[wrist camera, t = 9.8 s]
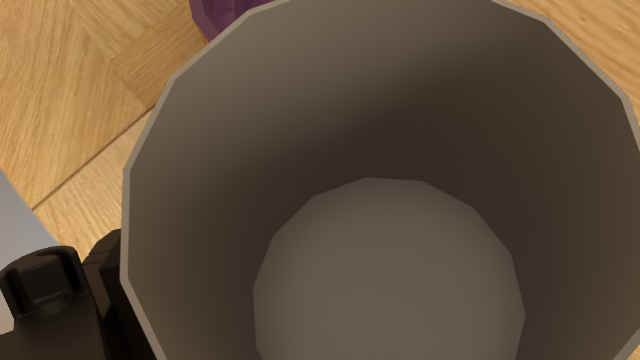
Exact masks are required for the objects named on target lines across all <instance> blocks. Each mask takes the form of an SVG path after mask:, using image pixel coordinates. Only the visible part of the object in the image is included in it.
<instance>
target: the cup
mask: <svg viewBox="0 0 640 360" xmlns="http://www.w3.org/2000/svg"><path fill="white" fill-rule="evenodd" d="M120 282H121V284H122V286H123V288H124V291H125V293H126V295H127V297H128V299H129V301H130V303H131V305H132V307H133V310H134V312H135V314H136V316H137V318H138V320H139V322H140V324H141V326H142V329H143V331H144V333H145V335H146V337H147V339H148V341H149V343H150V345H151V348H152V350H153V352H154V354H155V356H156V358H157V360H627V359H628V357H629V356H630V355H631V354H632V353H633V351H634V350H635V349H636V348H637V346H638V345H639V344H640V127H639V124H638V121H637V119H636V116H635V113H634V110H633V108H632V105H631V102H630V99H629V96H628V95H627V94H626V93H625V92H624V91H623V90H622V89H621V88H620V87H619V86H618V85H617V84H616V83H615V82H614V81H613V80H612V79H611V78H610V77H609V76H608V75H606V74H605V73H604V72H603V71H602V70H601V69H600V68H599V67H598V66H597V65H596V64H595V63H594V62H593V61H592V60H591V59H590V58H589V57H588V56H587V55H586V54H585V53H584V52H583V51H582V50H581V49H580V48H579V47H578V46H577V45H576V44H575V43H574V42H573V41H572V40H571V39H570V38H569V37H568V36H567V35H566V34H565V33H564V32H563V31H562V30H561V29H560V28H559V27H558V26H557V25H555V24H554V23H553V22H552V21H551V20H550V19H549V18H548V17H546V16H543V15H541V14H538V13H536V12H533V11H531V10H528V9H526V8H523V7H521V6H518V5H516V4H513V3H511V2H508V1H506V0H275V1H272V2H269V3H267V4H264V5H261V6H258V7H255V8H252V9H250V10H247V11H246V12H245V13H244V14H243V15H242V16H240V17H239V18H238V19H237V20H236V21H234V22H233V23H232V24H231V25H230V26H229V27H227V28H226V29H225V30H224V31H223V32H222V33H220V34H219V35H218V36H217V37H216V38H215V39H213V40H212V41H211V42H210V43H209V44H207V45H206V46H205V47H204V48H203V49H202V50H200V51H199V52H198V53H197V54H196V55H195V56H193V57H192V58H191V59H190V60H189V61H188V62H186V63H185V64H184V65H183V66H182V67H181V68H179V69H178V70H177V71H176V72H175V73H173V74H172V75H171V76H170V78H169V80H168V82H167V84H166V86H165V88H164V90H163V91H162V93H161V95H160V97H159V99H158V101H157V103H156V105H155V107H154V109H153V111H152V113H151V115H150V117H149V119H148V121H147V123H146V125H145V127H144V129H143V131H142V133H141V135H140V137H139V139H138V141H137V143H136V145H135V147H134V149H133V151H132V153H131V155H130V157H129V159H128V161H127V163H126V165H125V167H124V169H123V187H122V220H121V254H120Z"/></svg>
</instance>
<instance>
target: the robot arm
mask: <svg viewBox="0 0 640 360" xmlns="http://www.w3.org/2000/svg"><path fill="white" fill-rule="evenodd" d="M120 254H121V229H116V230H113V231H111V232H110V233H109V234H107V235H106V236H104V237H103V238H102V239H100V240H99V241H98V242H97V243H96V244H95V246H94V247H93V248H92V250H91V251H90V253H89V256H87V257H86V258H85V260H84V261H83V263H82V264H81V261H80V258H79V256H78V253H77V251H76V250H75V249H74V248H73V247H70V246H53V247H48V248H45V249H41V250H37V251H35V252H32V253H30V254H27V255H25V256H22V257H21V258H19V259H17V260H15V261H13V262H12V263H10V264H9V265H7V266H6V267H5V268H4V269H3V270H1V271H0V289H1V291H2V293H3V296H4V298H5V300H6V302H7V304H8V307H9V309H10V311H11V313H12V316H13V318H14V330H13V331H10V332H7V333H5V334H2V335H0V360H157V358H156V356H155V354H154V352H153V350H152V348H151V345H150V343H149V341H148V339H147V337H146V335H145V333H144V331H143V329H142V326H141V324H140V322H139V320H138V318H137V316H136V314H135V312H134V310H133V307H132V305H131V303H130V301H129V299H128V297H127V295H126V293H125V291H124V288H123V286H122V284H121V282H120Z"/></svg>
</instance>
